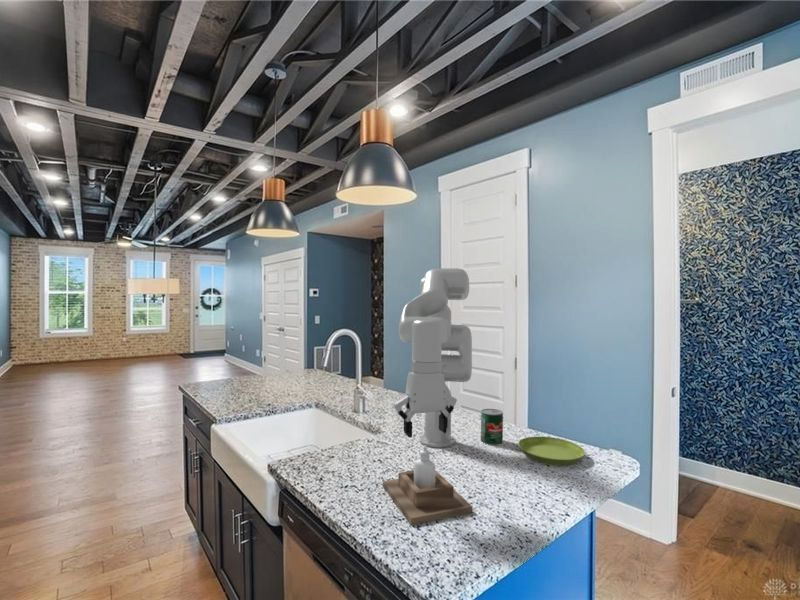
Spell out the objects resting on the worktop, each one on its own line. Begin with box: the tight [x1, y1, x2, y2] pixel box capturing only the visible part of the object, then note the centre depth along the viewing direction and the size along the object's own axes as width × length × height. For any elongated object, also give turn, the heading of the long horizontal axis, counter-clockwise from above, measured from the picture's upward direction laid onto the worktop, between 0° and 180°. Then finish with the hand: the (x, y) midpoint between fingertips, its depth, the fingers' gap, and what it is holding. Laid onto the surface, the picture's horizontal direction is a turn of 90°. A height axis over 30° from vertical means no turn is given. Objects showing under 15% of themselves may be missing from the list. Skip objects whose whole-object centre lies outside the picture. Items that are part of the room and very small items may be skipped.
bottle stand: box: [382, 469, 473, 526], centre depth 103 cm, size 20×16×5 cm
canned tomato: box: [480, 408, 504, 446], centre depth 147 cm, size 8×8×11 cm
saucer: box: [518, 436, 586, 467], centre depth 134 cm, size 21×21×3 cm
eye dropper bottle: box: [413, 445, 436, 489], centre depth 103 cm, size 4×6×12 cm
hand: (425, 433), depth 104 cm, fingers open, 9 cm apart
